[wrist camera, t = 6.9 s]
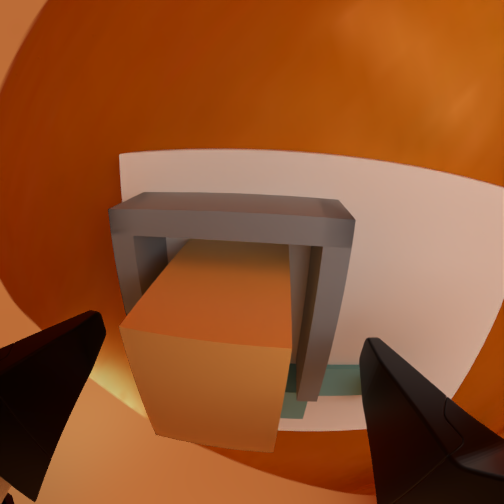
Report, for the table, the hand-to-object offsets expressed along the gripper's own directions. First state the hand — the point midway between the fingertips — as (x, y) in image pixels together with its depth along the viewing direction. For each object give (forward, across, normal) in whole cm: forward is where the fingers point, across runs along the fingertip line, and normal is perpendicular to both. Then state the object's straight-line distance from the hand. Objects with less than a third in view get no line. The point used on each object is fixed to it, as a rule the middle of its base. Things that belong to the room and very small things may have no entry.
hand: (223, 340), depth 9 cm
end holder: (+3, 0, 0) cm, 3 cm away
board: (+4, -4, +2) cm, 6 cm away
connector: (+3, 0, +3) cm, 4 cm away
